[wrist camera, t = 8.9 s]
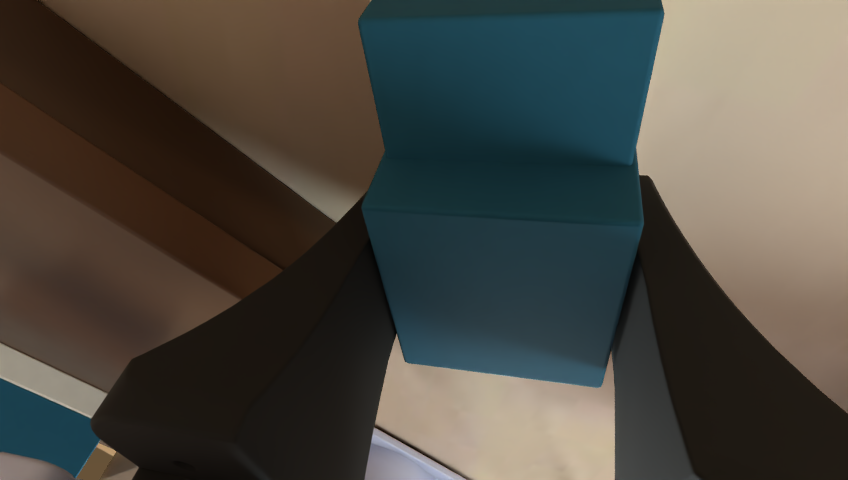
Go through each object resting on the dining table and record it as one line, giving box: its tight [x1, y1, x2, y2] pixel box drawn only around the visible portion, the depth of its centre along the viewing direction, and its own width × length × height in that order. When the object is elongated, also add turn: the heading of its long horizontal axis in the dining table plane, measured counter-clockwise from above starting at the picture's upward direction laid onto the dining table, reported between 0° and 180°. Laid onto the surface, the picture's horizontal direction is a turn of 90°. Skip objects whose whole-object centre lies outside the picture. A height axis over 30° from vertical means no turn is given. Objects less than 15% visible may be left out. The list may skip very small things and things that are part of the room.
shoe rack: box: [0, 0, 336, 480], centre depth 19 cm, size 20×12×6 cm, turn 137°
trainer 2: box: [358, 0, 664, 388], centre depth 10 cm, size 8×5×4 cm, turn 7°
